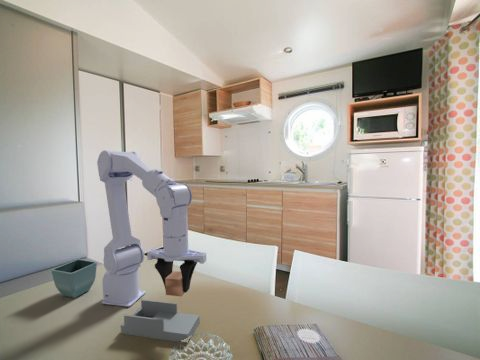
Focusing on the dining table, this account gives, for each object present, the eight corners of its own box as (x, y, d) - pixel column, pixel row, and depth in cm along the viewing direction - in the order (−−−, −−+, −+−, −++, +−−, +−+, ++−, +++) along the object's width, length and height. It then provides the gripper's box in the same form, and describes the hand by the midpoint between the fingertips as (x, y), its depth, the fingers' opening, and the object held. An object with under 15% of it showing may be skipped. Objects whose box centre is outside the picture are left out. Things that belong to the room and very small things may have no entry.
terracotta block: (165, 294, 57) (165, 278, 56) (173, 286, 61) (173, 271, 60) (181, 296, 56) (180, 279, 56) (188, 288, 60) (188, 272, 59)
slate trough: (121, 333, 57) (120, 315, 57) (139, 315, 64) (138, 299, 63) (187, 343, 53) (187, 323, 53) (199, 323, 60) (199, 305, 60)
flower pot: (72, 303, 70) (71, 273, 70) (52, 298, 73) (50, 269, 73) (99, 288, 79) (97, 261, 78) (79, 284, 81) (78, 258, 81)
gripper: (138, 238, 55) (140, 295, 56) (197, 240, 52) (199, 301, 53) (155, 230, 62) (157, 281, 63) (208, 232, 59) (210, 285, 60)
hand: (177, 289), depth 58 cm, fingers closed on terracotta block, 4 cm apart
